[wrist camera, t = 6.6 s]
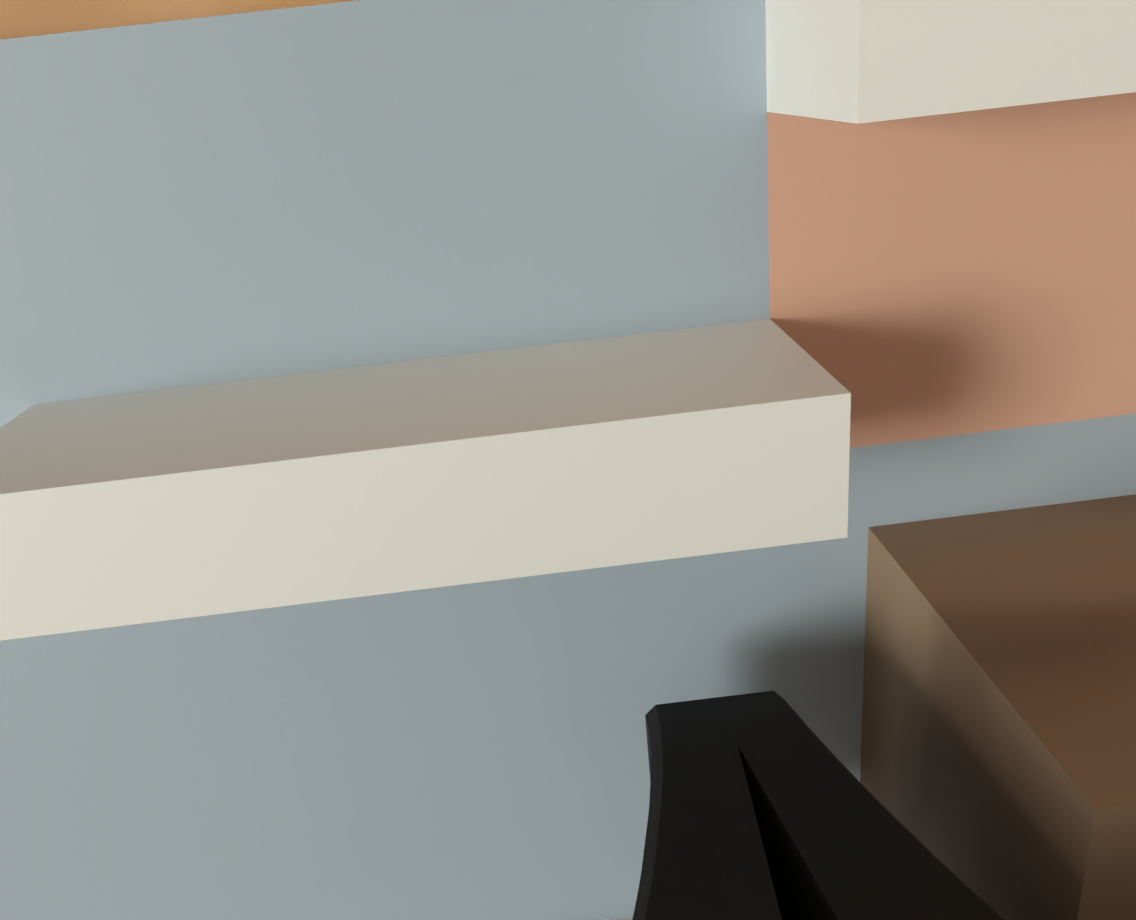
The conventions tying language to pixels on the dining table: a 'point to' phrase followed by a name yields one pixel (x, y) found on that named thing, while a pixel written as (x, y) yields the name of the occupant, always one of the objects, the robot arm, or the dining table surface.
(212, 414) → the deck
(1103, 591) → the block
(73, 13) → the dining table surface
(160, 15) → the dining table surface
